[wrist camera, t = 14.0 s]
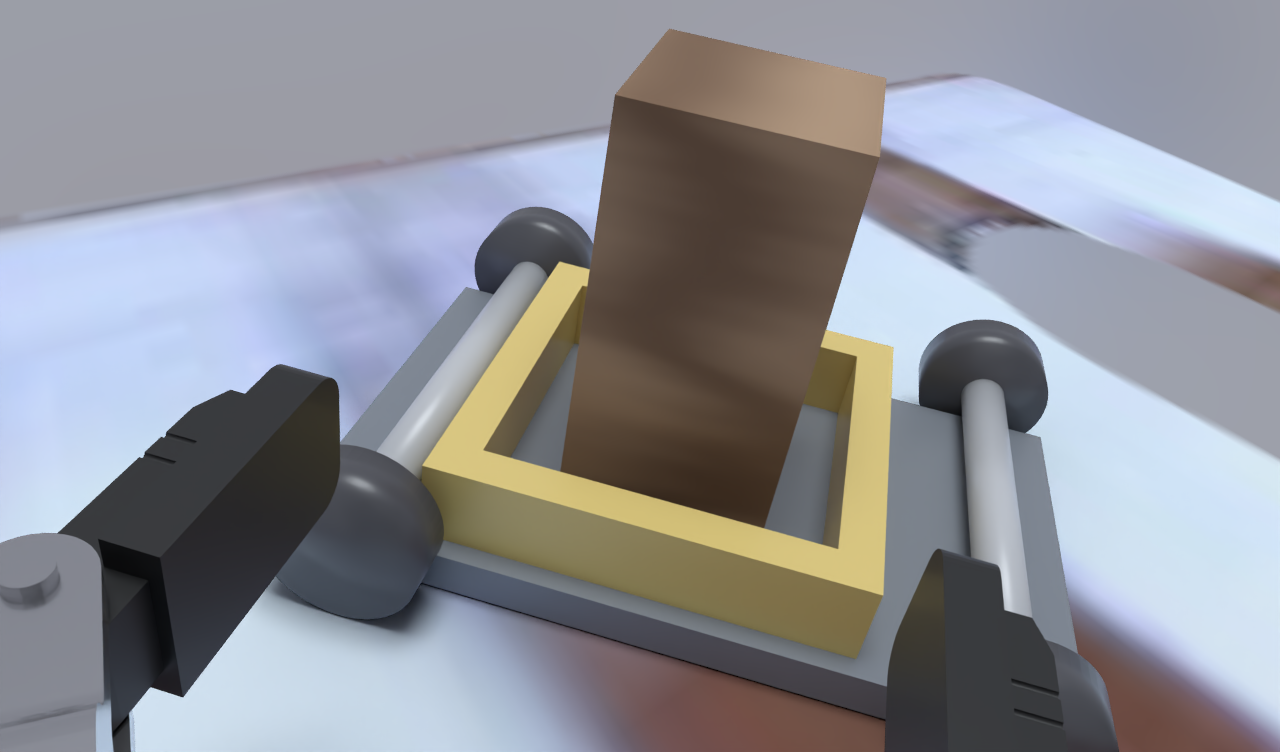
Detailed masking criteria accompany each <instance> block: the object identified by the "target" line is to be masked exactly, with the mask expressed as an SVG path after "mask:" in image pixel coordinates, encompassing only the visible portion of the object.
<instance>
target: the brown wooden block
mask: <svg viewBox="0 0 1280 752" xmlns="http://www.w3.org/2000/svg"><path fill="white" fill-rule="evenodd" d="M885 88H886V78H883V77H878V76H874V75H870V74H865V73H861V72H857V71H852V70H848V69H844V68H839V67H835V66H830V65H826V64H822V63H817V62H813V61H809V60H804V59H800V58H795V57H791V56H787V55H782V54H778V53H773V52H769V51H764V50H760V49H756V48H752V47H747V46H743V45H738V44H734V43H729V42H725V41H721V40H716V39H712V38H708V37H703V36H699V35H694V34H690V33H685V32H681V31H677V30H672V29H669V30H668V31H667V32H666V33H665V34H664V36H663V37H662V38H661V39H660V41H659V42H658V43H657V44H656V45H655V47H654V48H653V49H652V50H651V52H650V53H649V54H648V55H647V56H646V58H645V59H644V60H643V61H642V63H641V64H640V65H639V66H638V67H637V69H636V70H635V71H634V72H633V74H632V75H631V76H630V77H629V79H628V80H627V81H626V82H625V83H624V85H623V86H622V87H621V88H620V89H619V91H618V92H617V93H616V94H615V100H614V107H613V113H612V120H611V127H610V133H609V140H608V147H607V154H606V161H605V168H604V175H603V182H602V188H601V195H600V202H599V209H598V216H597V223H596V230H595V237H594V243H593V250H592V257H591V264H590V271H589V278H588V285H587V291H586V298H585V305H584V312H583V319H582V326H581V333H580V340H579V346H578V353H577V360H576V367H575V374H574V381H573V388H572V395H571V401H570V408H569V415H568V422H567V429H566V436H565V443H564V449H563V456H562V463H561V470H560V472H563V473H567V474H570V475H574V476H577V477H581V478H585V479H588V480H592V481H595V482H599V483H603V484H606V485H610V486H613V487H617V488H620V489H624V490H628V491H631V492H635V493H638V494H642V495H646V496H649V497H653V498H656V499H660V500H664V501H667V502H671V503H674V504H678V505H682V506H685V507H689V508H692V509H696V510H699V511H703V512H707V513H710V514H714V515H717V516H721V517H725V518H728V519H732V520H735V521H739V522H743V523H746V524H750V525H753V526H757V527H760V528H764V527H765V524H766V520H767V517H768V514H769V511H770V508H771V504H772V501H773V498H774V495H775V491H776V488H777V485H778V482H779V479H780V475H781V472H782V469H783V466H784V463H785V459H786V456H787V453H788V450H789V447H790V443H791V440H792V437H793V434H794V431H795V427H796V424H797V421H798V418H799V414H800V411H801V408H802V405H803V402H804V398H805V395H806V392H807V389H808V386H809V382H810V379H811V376H812V373H813V370H814V366H815V363H816V360H817V357H818V354H819V350H820V347H821V344H822V341H823V338H824V334H825V331H826V328H827V325H828V321H829V318H830V315H831V312H832V309H833V305H834V302H835V299H836V296H837V293H838V289H839V286H840V283H841V280H842V277H843V273H844V270H845V267H846V264H847V261H848V257H849V254H850V251H851V248H852V244H853V241H854V238H855V235H856V232H857V228H858V225H859V222H860V219H861V216H862V212H863V209H864V206H865V203H866V200H867V196H868V193H869V190H870V187H871V184H872V180H873V177H874V174H875V171H876V168H877V164H878V161H879V158H880V148H881V136H882V124H883V112H884V100H885Z"/></svg>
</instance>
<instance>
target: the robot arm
mask: <svg viewBox="0 0 1280 752" xmlns="http://www.w3.org/2000/svg"><path fill="white" fill-rule="evenodd" d="M339 473H340V422H339V389H338V385H337V382H336V381H335V380H334V379H332V378H329V377H326V376H322V375H319V374H315V373H311V372H308V371H304V370H301V369H297V368H293V367H290V366H286V365H282V364H279V365H276V366H274V367H272V368H271V369H270V370H269V371H268V372H267V373H266V374H265V375H264V376H263V377H262V378H261V379H260V380H259V381H258V382H257V383H256V384H255V385H254V386H253V387H252V388H251V389H250V390H249V391H248V392H247V393H246V394H244V393H240V392H237V391H233V390H229V391H227V392H225V393H223V394H220V395H218V396H216V397H214V398H212V399H210V400H208V401H205V402H203V403H201V404H199V405H197V406H195V407H193V408H192V409H191V410H190V411H188V412H187V413H186V414H185V415H184V416H183V417H182V418H181V419H180V420H179V421H178V422H177V423H176V424H174V425H173V426H172V427H171V428H170V429H169V430H168V431H167V432H166V436H165V437H164V438H163V437H161V438H159V439H158V440H157V441H156V442H155V443H154V444H153V445H152V446H151V447H150V448H149V449H148V450H147V451H145V455H144V457H143V458H140V457H139V458H138V459H137V460H136V461H135V462H134V463H133V464H131V465H130V466H129V467H128V468H127V469H126V470H125V471H124V472H123V473H122V474H121V475H120V476H119V477H118V478H116V479H115V480H114V481H113V482H112V483H111V484H110V485H109V486H108V487H107V488H106V489H105V490H104V491H102V492H101V493H100V494H99V495H98V496H97V497H96V498H95V499H94V500H93V501H92V502H91V503H90V504H89V505H87V506H86V507H85V508H84V509H83V510H82V511H81V512H80V513H79V514H78V515H77V516H76V517H75V518H73V519H72V520H71V521H70V522H69V523H68V524H67V525H66V526H65V527H64V528H63V529H62V530H61V531H59V532H58V533H40V534H30V535H26V536H21V537H17V538H14V539H10V540H7V541H5V542H2V543H0V752H135V732H134V718H133V712H132V709H133V708H134V706H135V705H136V704H137V703H138V701H139V700H140V699H141V698H142V696H143V695H144V694H145V693H146V692H147V690H148V689H149V688H150V687H152V688H155V689H158V690H161V691H164V692H168V693H171V694H174V695H177V696H180V697H184V695H185V694H186V693H187V692H188V690H189V689H190V688H191V686H192V685H193V684H194V682H195V681H196V680H197V678H198V677H199V676H200V674H201V673H202V672H203V671H204V669H205V668H206V667H207V665H208V664H209V663H210V661H211V660H212V659H213V657H214V656H215V655H216V653H217V652H218V651H219V650H220V648H221V647H222V646H223V644H224V643H225V642H226V640H227V639H228V638H229V636H230V635H231V634H232V632H233V631H234V630H235V629H236V627H237V626H238V625H239V623H240V622H241V621H242V619H243V618H244V617H245V615H246V614H247V613H248V612H249V610H250V609H251V608H252V606H253V605H254V604H255V602H256V601H257V600H258V598H259V597H260V596H261V594H262V593H263V592H264V591H265V589H266V588H267V587H268V585H269V584H270V583H271V581H272V580H273V579H274V577H275V576H276V575H277V573H278V572H279V571H280V570H281V568H282V567H283V566H284V564H285V563H286V562H287V560H288V559H289V558H290V556H291V555H292V554H293V552H294V551H295V550H296V549H297V547H298V546H299V545H300V543H301V542H302V541H303V539H304V538H305V537H306V535H307V534H308V533H309V532H310V530H311V529H312V528H313V526H314V525H315V524H316V522H317V521H318V520H319V518H320V517H321V516H322V514H323V513H324V512H325V510H326V509H327V507H328V505H329V504H330V502H331V499H332V497H333V495H334V492H335V489H336V486H337V483H338V479H339ZM1058 695H1059V685H1058V678H1057V671H1056V664H1055V657H1054V654H1053V652H1052V651H1051V649H1050V647H1049V645H1048V644H1047V642H1046V640H1045V639H1044V637H1043V635H1042V633H1041V632H1040V630H1039V628H1038V627H1037V625H1036V623H1035V622H1034V620H1033V618H1031V617H1028V616H1024V615H1021V614H1017V613H1014V612H1010V611H1007V610H1004V599H1003V589H1002V578H1001V571H1000V568H999V566H998V565H996V564H993V563H990V562H986V561H983V560H979V559H975V558H972V557H968V556H965V555H961V554H957V553H954V552H950V551H946V550H943V549H937V550H935V552H934V553H933V554H932V556H931V558H930V560H929V562H928V564H927V566H926V569H925V571H924V573H923V575H922V577H921V580H920V582H919V584H918V586H917V589H916V591H915V593H914V595H913V597H912V600H911V602H910V604H909V606H908V608H907V611H906V613H905V615H904V617H903V619H902V622H901V624H900V626H899V628H898V631H897V634H896V637H895V640H894V643H893V647H892V651H891V655H890V660H889V667H888V675H887V699H886V728H885V752H1068V747H1067V740H1066V733H1065V730H1063V724H1064V720H1063V713H1062V706H1061V700H1060V699H1058Z"/></svg>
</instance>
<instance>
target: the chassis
mask: <svg viewBox="0 0 1280 752" xmlns="http://www.w3.org/2000/svg"><path fill="white" fill-rule="evenodd" d="M592 250H593V243H592V241H591V239H590V238H589V236H588V235H587V233H586V232H585V231H584V230H583V229H582V227H580V226H579V225H578V224H577V223H576V222H575V221H574V220H572V219H571V218H570V217H568V216H566V215H564V214H562V213H560V212H558V211H555V210H552V209H549V208H543V207H528V208H523V209H519V210H517V211H514V212H512V213H511V214H509V215H508V216H506V217H505V218H504V219H503V220H502V221H501V222H500V223H499V224H498V225H497V227H496V228H495V229H494V230H493V231H492V232H491V234H490V235H489V236H488V237H487V238H486V239H485V241H484V242H483V243H482V245H481V246H480V248H479V250H478V253H477V256H476V260H475V277H476V281H477V285H478V288H479V290H480V291H479V290H475V289H471V288H468V287H466V288H465V289H464V290H463V291H462V293H461V294H460V295H459V296H458V298H457V299H456V300H455V301H454V303H453V304H452V305H451V306H450V307H449V309H448V310H447V311H446V312H445V314H444V315H443V316H442V317H441V319H440V320H439V321H438V322H437V324H436V325H435V326H434V327H433V328H432V330H431V331H430V332H429V333H428V335H427V336H426V337H425V338H424V340H423V341H422V342H421V343H420V345H419V346H418V347H417V348H416V349H415V351H414V352H413V353H412V354H411V356H410V357H409V358H408V359H407V361H406V362H405V363H404V364H403V366H402V367H401V368H400V369H399V370H398V372H397V373H396V374H395V375H394V377H393V378H392V379H391V380H390V382H389V383H388V384H387V385H386V387H385V388H384V389H383V390H382V391H381V393H380V394H379V395H378V396H377V398H376V399H375V400H374V401H373V403H372V404H371V405H370V406H369V408H368V409H367V410H366V411H365V412H364V414H363V415H362V416H361V417H360V419H359V420H358V421H357V422H356V424H355V425H354V426H353V427H352V429H351V430H350V431H349V432H348V433H347V435H346V436H345V437H344V438H343V440H342V441H341V442H340V473H339V479H338V483H337V486H336V489H335V492H334V495H333V497H332V499H331V502H330V504H329V505H328V507H327V509H326V510H325V512H324V513H323V514H322V516H321V517H320V518H319V520H318V521H317V522H316V524H315V525H314V526H313V528H312V529H311V530H310V532H309V533H308V534H307V535H306V537H305V538H304V539H303V541H302V542H301V543H300V545H299V546H298V547H297V549H296V550H295V551H294V552H293V554H292V555H291V556H290V558H289V559H288V560H287V562H286V563H285V564H284V566H283V567H282V568H281V570H280V571H279V572H278V573H277V575H276V577H277V578H278V579H279V580H280V581H281V582H282V583H283V584H284V585H285V586H286V587H287V588H289V589H290V590H291V591H292V592H294V593H295V594H296V595H298V596H299V597H301V598H302V599H304V600H305V601H307V602H309V603H311V604H312V605H314V606H316V607H318V608H321V609H323V610H325V611H328V612H330V613H333V614H336V615H340V616H344V617H349V618H355V619H377V618H383V617H387V616H390V615H393V614H394V613H396V612H398V611H400V610H401V609H403V608H404V607H405V606H406V605H407V604H408V603H409V602H410V600H411V599H412V597H413V595H414V594H415V592H416V590H417V588H418V587H419V585H420V583H424V584H427V585H431V586H434V587H438V588H441V589H444V590H448V591H451V592H455V593H458V594H461V595H465V596H468V597H472V598H475V599H478V600H482V601H485V602H488V603H492V604H495V605H499V606H502V607H505V608H509V609H512V610H516V611H519V612H522V613H526V614H529V615H533V616H536V617H539V618H543V619H546V620H550V621H553V622H556V623H560V624H563V625H566V626H570V627H573V628H577V629H580V630H583V631H587V632H590V633H594V634H597V635H600V636H604V637H607V638H611V639H614V640H617V641H621V642H624V643H628V644H631V645H634V646H638V647H641V648H645V649H648V650H651V651H655V652H658V653H661V654H665V655H668V656H672V657H675V658H678V659H682V660H685V661H689V662H692V663H695V664H699V665H702V666H706V667H709V668H712V669H716V670H719V671H723V672H726V673H729V674H733V675H736V676H739V677H743V678H746V679H750V680H753V681H756V682H760V683H763V684H767V685H770V686H773V687H777V688H780V689H784V690H787V691H790V692H794V693H797V694H801V695H804V696H807V697H811V698H814V699H818V700H821V701H824V702H828V703H831V704H834V705H838V706H841V707H845V708H848V709H851V710H855V711H858V712H862V713H865V714H868V715H872V716H875V717H879V718H882V719H885V720H886V699H887V675H888V667H889V660H890V655H891V651H892V647H893V643H894V640H895V637H896V634H897V631H898V628H899V626H900V624H901V622H902V619H903V617H904V615H905V613H906V611H907V608H908V606H909V604H910V602H911V600H912V597H913V595H914V593H915V591H916V589H917V586H918V584H919V582H920V580H921V577H922V575H923V573H924V571H925V569H926V566H927V564H928V562H929V560H930V558H931V556H932V554H933V553H934V552H935V550H937V549H943V550H946V551H950V552H954V553H957V554H961V555H965V556H968V557H972V558H975V559H979V560H983V561H986V562H990V563H993V564H996V565H998V566H999V568H1000V571H1001V578H1002V589H1003V599H1004V610H1007V611H1010V612H1014V613H1017V614H1021V615H1024V616H1028V617H1031V618H1033V620H1034V622H1035V623H1036V625H1037V627H1038V628H1039V630H1040V632H1041V633H1042V635H1043V637H1044V639H1045V640H1046V642H1047V644H1048V645H1049V647H1050V649H1051V651H1052V652H1053V654H1054V657H1055V664H1056V671H1057V678H1058V685H1059V695H1058V699H1060V700H1061V706H1062V713H1063V720H1064V724H1063V730H1065V733H1066V740H1067V747H1068V752H1119V748H1118V743H1117V738H1116V733H1115V728H1114V723H1113V718H1112V713H1111V708H1110V702H1109V697H1108V692H1107V689H1106V686H1105V683H1104V681H1103V680H1102V678H1101V676H1100V675H1099V673H1098V672H1097V671H1096V669H1095V668H1094V667H1093V666H1092V665H1091V664H1090V663H1089V662H1088V661H1087V660H1085V659H1084V658H1083V657H1081V656H1080V655H1079V654H1078V652H1077V647H1076V641H1075V635H1074V629H1073V623H1072V618H1071V612H1070V606H1069V600H1068V594H1067V589H1066V583H1065V577H1064V571H1063V565H1062V559H1061V554H1060V548H1059V542H1058V536H1057V530H1056V525H1055V519H1054V513H1053V507H1052V501H1051V496H1050V490H1049V484H1048V478H1047V472H1046V466H1045V461H1044V455H1043V449H1042V443H1041V437H1038V436H1034V435H1030V434H1026V432H1027V431H1029V430H1030V429H1031V428H1032V427H1033V426H1034V425H1035V424H1036V423H1037V422H1038V421H1039V419H1040V418H1041V416H1042V414H1043V413H1044V410H1045V408H1046V405H1047V400H1048V387H1047V381H1046V376H1045V371H1044V366H1043V361H1042V357H1041V354H1040V352H1039V349H1038V347H1037V346H1036V345H1035V343H1034V342H1033V341H1032V339H1031V338H1030V337H1029V336H1028V335H1026V334H1025V333H1024V332H1023V331H1021V330H1019V329H1018V328H1016V327H1014V326H1012V325H1009V324H1006V323H1003V322H999V321H994V320H972V321H967V322H963V323H959V324H956V325H954V326H952V327H950V328H948V329H946V330H944V331H943V332H941V333H940V334H938V335H937V336H936V337H935V338H934V339H933V340H932V341H931V342H930V343H929V344H928V346H927V347H926V349H925V350H924V352H923V355H922V357H921V360H920V364H919V403H920V406H919V405H915V404H911V403H908V402H904V401H900V400H896V399H892V398H891V394H892V369H893V347H891V346H887V345H883V344H879V343H875V342H871V341H867V340H863V339H859V338H855V337H851V336H848V335H844V334H840V333H836V332H832V331H828V330H826V331H825V334H824V338H823V341H822V344H821V347H820V350H819V354H818V357H817V360H816V363H815V366H814V370H813V373H812V376H811V379H810V382H809V386H808V389H807V392H806V395H805V398H804V402H803V405H802V408H801V411H800V414H799V418H798V421H797V424H796V427H795V431H794V434H793V437H792V440H791V443H790V447H789V450H788V453H787V456H786V459H785V463H784V466H783V469H782V472H781V475H780V479H779V482H778V485H777V488H776V491H775V495H774V498H773V501H772V504H771V508H770V511H769V514H768V517H767V520H766V524H765V527H764V528H760V527H757V526H753V525H750V524H746V523H743V522H739V521H735V520H732V519H728V518H725V517H721V516H717V515H714V514H710V513H707V512H703V511H699V510H696V509H692V508H689V507H685V506H682V505H678V504H674V503H671V502H667V501H664V500H660V499H656V498H653V497H649V496H646V495H642V494H638V493H635V492H631V491H628V490H624V489H620V488H617V487H613V486H610V485H606V484H603V483H599V482H595V481H592V480H588V479H585V478H581V477H577V476H574V475H570V474H567V473H563V472H560V470H561V463H562V456H563V449H564V443H565V436H566V429H567V422H568V415H569V408H570V401H571V395H572V388H573V381H574V374H575V367H576V360H577V353H578V346H579V340H580V333H581V326H582V319H583V312H584V305H585V298H586V291H587V285H588V278H589V271H590V264H591V257H592Z"/></svg>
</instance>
